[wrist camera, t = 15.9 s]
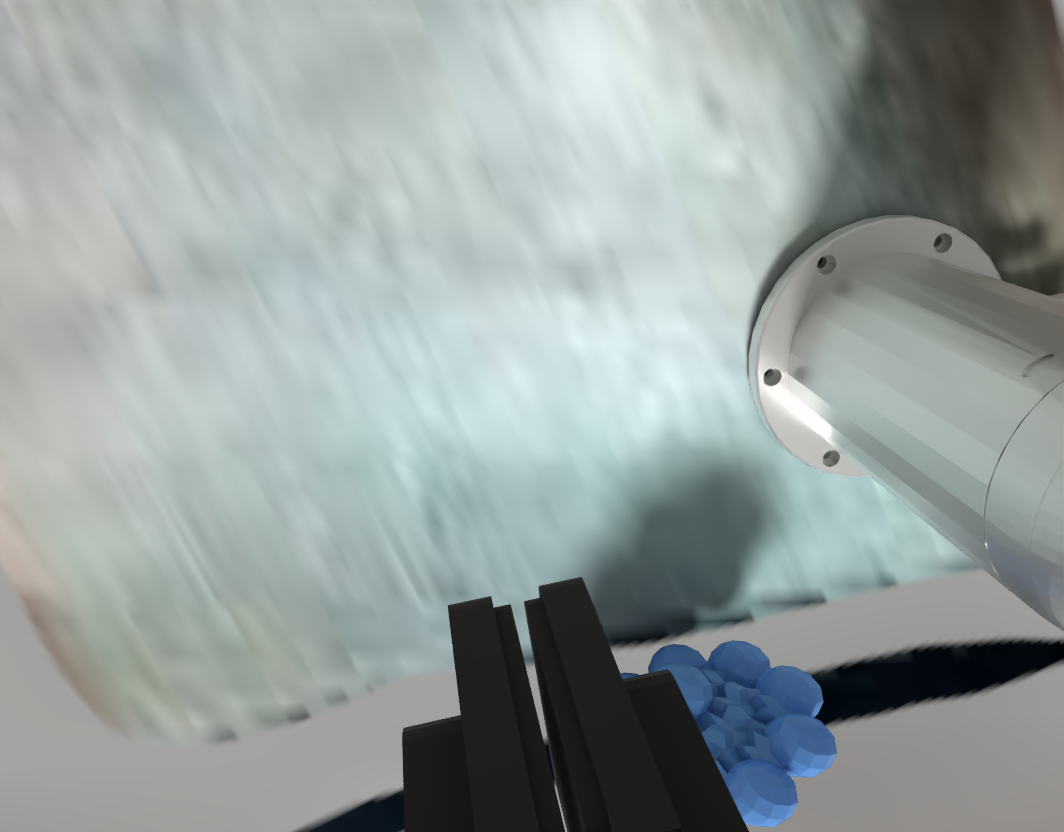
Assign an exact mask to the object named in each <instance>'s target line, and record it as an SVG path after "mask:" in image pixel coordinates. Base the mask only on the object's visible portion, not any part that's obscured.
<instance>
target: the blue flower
mask: <svg viewBox="0 0 1064 832" xmlns="http://www.w3.org/2000/svg"><path fill="white" fill-rule="evenodd" d="M665 669H668V670H669V671H670V672H671V673H672V675H673V676H674V678H675V680H676V682H677V684H678V686H679V688H680V690H681V692H682V694H683V696H684V698H685V700H686V703H687V705H688V707H689V709H690V711H691V713H692V715H693V717H694V719H695V721H696V723H697V725H698V727H699V729H700V731H701V734H702V736H703V738H704V740H705V742H706V744H707V746H708V748H709V750H710V752H711V754H712V756H713V758H714V760H715V762H716V764H717V767H718V769H719V771H720V773H721V775H722V777H723V779H724V781H725V783H726V785H727V787H728V789H729V791H730V793H731V795H732V798H733V800H734V802H735V804H736V806H737V808H738V810H739V812H740V814H741V816H742V818H743V820H744V822H745V823H746V824H748V825H750V826H760V827H774V826H776V825H778V824H780V823H782V822H783V821H785V820H786V819H788V818H789V817H791V816H792V815H793V812H794V810H795V808H796V805H797V803H798V798H797V792H796V786H795V783H794V781H793V780H792V779H791V778H790V776H792V777H804V778H805V777H814V776H816V775H818V774H820V773H822V772H823V771H825V770H826V769H828V768H829V767H830V766H831V765H832V763H833V760H834V758H835V756H836V754H837V750H836V745H835V739H834V736H833V735H832V734H831V732H830V731H829V730H828V729H827V728H826V727H825V725H824V724H823V723H822V722H821V721H819V720H817V719H815V718H813V717H814V716H816V715H817V714H818V712H819V710H820V708H821V705H822V703H823V698H822V692H821V687H820V686H819V685H818V684H817V682H816V681H815V680H814V679H813V678H812V677H811V676H810V675H809V673H806V672H804V671H802V670H800V669H798V668H796V667H790V666H777V667H774V668H770V662H769V659H768V658H767V656H766V655H765V654H764V653H763V652H762V651H761V650H760V648H758V647H756V646H754V645H752V644H749V643H747V642H744V641H729V642H725V643H722V644H720V645H719V646H718V647H717V648H715V649H714V650H713V651H712V652H711V655H710V657H709V659H708V662H707V661H706V660H705V659H704V658H703V656H702V655H701V654H700V653H699V652H698V651H696V650H694V649H692V648H690V647H688V646H686V645H676V644H672V645H668V646H665V647H662V648H661V649H659V650H658V651H657V652H656V653H655V654H654V655H653V657H652V660H651V662H650V664H649V667H648V671H649V673H652V672H656V671H661V670H665ZM634 676H638V674H632V673H622V674H621V677H622V679H625V678H629V677H634Z"/></svg>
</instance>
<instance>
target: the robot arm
mask: <svg viewBox="0 0 1064 832" xmlns="http://www.w3.org/2000/svg"><path fill="white" fill-rule="evenodd" d="M935 239H936V240H935ZM821 257H822V263H821V264H820V265H819V266H817V265H818V261H819V260H820V259H821ZM768 369H769V373H768V374H767V375H765V376H764V373H765V372H766V371H767V370H768ZM749 383H750V388H751V392H752V397H753V402H754V405H755V407H756V409H757V411H758V413H759V416H760V418H761V420H762V422H763V424H764V425H765V427H766V428H767V429H768V431H769V432H770V433H771V435H772V436H773V437H774V439H775V440H776V441H777V442H778V443H779V444H780V445H782V446H783V447H784V448H785V449H786V450H787V451H788V452H789V453H790V454H791V455H793V456H794V457H796V458H797V459H799V460H800V461H802V462H803V463H805V464H806V465H808V466H810V467H812V468H814V469H817V470H819V471H821V472H824V473H828V474H833V475H839V476H845V477H871V478H873V479H874V480H875V481H876V482H877V483H879V484H880V485H881V486H882V487H884V488H885V489H886V490H887V491H888V492H890V493H891V494H892V495H893V496H894V497H896V498H897V499H898V500H899V501H901V502H902V503H903V504H904V505H905V506H907V507H908V508H909V509H910V510H912V511H913V512H914V513H915V514H916V515H918V516H919V517H920V518H921V519H923V520H924V521H925V522H926V523H927V524H929V525H930V526H931V527H932V528H934V529H935V530H936V531H937V532H938V533H940V534H941V535H942V536H943V537H945V538H946V539H947V540H948V541H949V542H951V543H952V544H953V545H954V546H955V547H957V548H958V549H959V550H960V551H962V552H963V553H964V554H965V555H966V556H968V557H969V558H970V559H971V560H973V561H974V562H975V563H976V564H977V565H979V566H980V567H981V568H982V569H984V570H985V571H986V572H987V573H989V574H990V575H991V576H992V577H993V578H995V579H996V580H997V581H998V582H999V583H1001V584H1002V585H1003V586H1004V587H1006V588H1007V589H1008V590H1009V591H1011V592H1012V593H1013V594H1015V595H1016V596H1017V597H1018V598H1019V599H1021V600H1022V601H1023V602H1024V603H1026V604H1027V605H1028V606H1029V607H1031V608H1032V609H1033V610H1034V611H1036V612H1037V613H1038V614H1039V615H1041V616H1042V617H1043V618H1044V619H1046V620H1047V621H1049V622H1050V623H1052V624H1053V625H1055V626H1056V627H1058V628H1060V629H1061V630H1063V631H1064V293H1060V294H1055V295H1050V296H1047V295H1044V294H1041V293H1038V292H1035V291H1032V290H1029V289H1026V288H1023V287H1020V286H1017V285H1014V284H1011V283H1008V282H1005V281H1002V279H1001V276H1000V275H999V273H998V271H997V269H996V267H995V266H994V264H993V262H992V260H991V259H990V257H989V256H988V255H987V254H986V253H985V252H984V251H983V249H982V248H981V247H980V246H979V245H978V244H977V243H976V242H975V241H974V240H972V239H971V238H969V237H968V236H966V235H965V234H963V233H962V232H960V231H959V230H957V229H956V228H953V227H951V226H948V225H945V224H943V223H940V222H937V221H935V220H931V219H926V218H921V217H917V216H912V215H884V216H878V217H873V218H868V219H862V220H860V221H857V222H854V223H852V224H849V225H847V226H844V227H841V228H839V229H837V230H835V231H833V232H832V233H830V234H829V235H827V236H825V237H824V238H822V239H820V240H819V241H817V242H815V243H814V244H813V245H812V246H810V247H809V248H808V249H807V250H806V251H805V252H804V253H802V254H801V255H800V256H799V257H798V258H797V259H795V260H794V261H793V262H792V264H791V265H790V266H789V267H788V268H787V270H786V271H785V272H784V273H783V275H782V276H781V277H780V278H779V279H778V281H777V282H776V283H775V285H774V287H773V288H772V290H771V292H770V294H769V295H768V297H767V299H766V301H765V302H764V304H763V306H762V308H761V311H760V314H759V316H758V319H757V322H756V324H755V327H754V330H753V334H752V340H751V345H750V351H749ZM539 596H540V598H537V599H532V600H528V601H524V605H525V611H526V617H527V623H528V629H529V634H530V640H531V646H532V651H533V657H534V663H535V668H536V674H537V680H538V685H539V691H540V696H541V702H542V708H543V714H544V720H545V725H546V731H547V737H548V742H549V748H550V754H551V759H552V765H553V771H554V776H555V781H556V786H557V790H558V795H559V799H560V803H561V808H562V812H563V816H564V820H565V824H566V828H567V832H749V831H748V829H747V827H746V824H745V822H744V820H743V818H742V816H741V814H740V812H739V810H738V808H737V806H736V804H735V802H734V800H733V798H732V795H731V793H730V791H729V789H728V787H727V785H726V783H725V781H724V779H723V777H722V775H721V773H720V771H719V769H718V767H717V764H716V762H715V760H714V758H713V756H712V754H711V752H710V750H709V748H708V746H707V744H706V742H705V740H704V738H703V736H702V734H701V731H700V729H699V727H698V725H697V723H696V721H695V719H694V717H693V715H692V713H691V711H690V709H689V707H688V705H687V703H686V700H685V698H684V696H683V694H682V692H681V690H680V688H679V686H678V684H677V682H676V680H675V678H674V676H673V675H672V673H671V672H670V671H669V670H668V669H665V670H661V671H656V672H652V673H647V674H643V675H638V676H634V677H629V678H625V679H622V677H621V674H620V672H619V669H618V667H617V664H616V662H615V659H614V656H613V654H612V651H611V649H610V646H609V644H608V641H607V639H606V636H605V634H604V631H603V629H602V626H601V624H600V621H599V619H598V616H597V614H596V611H595V609H594V606H593V604H592V601H591V598H590V596H589V593H588V591H587V588H586V586H585V583H584V581H583V579H582V578H581V577H579V578H574V579H570V580H565V581H560V582H556V583H551V584H546V585H541V586H539ZM448 612H449V620H450V628H451V637H452V645H453V653H454V662H455V670H456V678H457V686H458V695H459V703H460V711H461V715H459V716H455V717H451V718H446V719H441V720H437V721H432V722H428V723H424V724H420V725H415V726H411V727H406V728H404V729H403V736H402V747H403V782H404V819H405V832H565V829H564V825H563V821H562V817H561V812H560V808H559V804H558V800H557V796H556V792H555V787H554V783H553V779H552V775H551V771H550V766H549V762H548V758H547V754H546V750H545V746H544V741H543V737H542V734H541V729H540V725H539V721H538V717H537V712H536V708H535V704H534V700H533V696H532V692H531V688H530V683H529V679H528V675H527V671H526V667H525V662H524V658H523V654H522V650H521V646H520V642H519V637H518V633H517V629H516V625H515V621H514V617H513V612H512V608H511V605H510V604H509V605H504V606H500V607H495V608H493V603H492V599H491V596H490V597H485V598H480V599H475V600H471V601H466V602H461V603H457V604H452V605H448Z"/></svg>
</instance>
